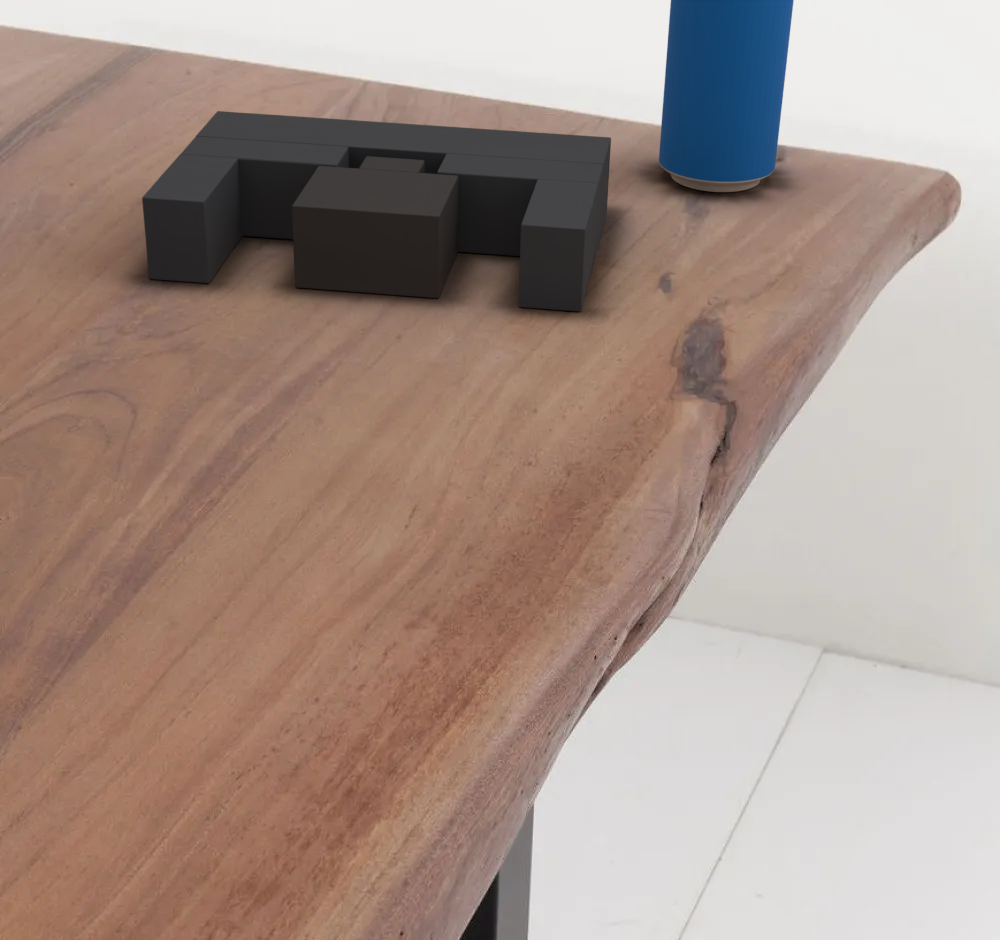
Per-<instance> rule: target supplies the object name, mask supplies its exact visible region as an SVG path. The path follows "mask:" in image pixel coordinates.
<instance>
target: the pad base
mask: <svg viewBox="0 0 1000 940" xmlns="http://www.w3.org/2000/svg"><path fill="white" fill-rule="evenodd" d="M611 147H612V137H609V136H594V135H579V134H566V133H565V134H564V133H552V132H550V133H549V132H537V131H521V130H520V131H519V130H506V129H505V130H504V129H489V128H477V127H475V128H474V127H473V128H472V127H461V126H445V125H432V124H431V125H430V124H415V123H401V122H388V121H387V122H386V121H385V122H384V121H373V120H371V121H369V120H356V119H355V120H354V119H344V118H343V119H342V118H341V119H340V118H327V117H326V118H325V117H324V118H323V117H312V116H311V117H310V116H296V115H282V114H268V113H267V114H265V113H254V112H253V113H252V112H240V111H239V112H237V111H225V110H224V111H223V110H222V111H221V110H217V111H216V112H215V113H214V115H213V116H211V118H210V119H209V120H208V121H207V123H206V124H205V125H204V126H203V127H202V128H201V129H200V131H199V132H198V133H197V134H196V135H195V137H194V138H193V139H192V140H191V142H189V144H188V145H187V146H186V147H185V148H184V149H183V151H182V152H181V153H180V154H179V155H178V156H177V157H176V158H175V159H174V160H173V161H172V163H171V164H170V165H169V166H168V167H167V168H166V170H164V172H163V173H162V174H161V175H160V177H158V179H157V180H156V181H155V182H154V183H153V185H152V186H151V187H150V188H149V189H148V191H146V193H145V194H144V195H143V196H142V197H141V202H142V212H143V225H144V236H145V248H146V249H145V250H146V259H147V271H148V279H149V280H159V281H172V282H173V281H174V282H185V283H186V282H187V283H197V284H198V283H199V284H210V283H211V281H212V280H213V279H214V277H215V276H216V274H217V273H218V272H219V270H220V268H221V267H222V265H223V264H224V263H225V262H226V260H227V259H228V257H229V256H230V254H231V253H232V251H233V250H234V249H235V247H236V246H237V244H238V243H239V241H240V240H241V239H242V238H243V237H250V238H251V237H252V238H253V237H254V238H267V239H268V238H269V239H278V240H279V239H280V240H292V241H293V220H292V205H293V204H294V202H295V201H296V199H297V198H298V196H299V195H300V193H301V192H302V190H303V189H304V187H305V186H306V184H307V183H308V181H309V180H310V178H311V177H312V175H313V174H314V172H315V171H316V169H317V168H318V166H329V167H343V168H357V169H359V168H360V166H361V164H362V163H363V161H364V160H365V158H366V157H367V156H371V157H385V158H399V159H414V160H424V161H425V173H428V174H442V175H456V176H458V238H457V253H467V254H481V255H482V254H483V255H494V256H495V255H496V256H511V257H519V269H518V270H519V271H518V273H519V274H518V301H517V303H518V308H526V309H527V308H528V309H541V310H554V311H569V312H582V309H583V305H584V302H585V298H586V294H587V290H588V286H589V282H590V278H591V275H592V271H593V266H594V263H595V260H596V255H597V251H598V247H599V243H600V240H601V236H602V232H603V228H604V224H605V221H606V217H607V212H608V200H609V199H608V198H609V184H610V183H609V182H610V180H609V179H610V164H611Z"/></svg>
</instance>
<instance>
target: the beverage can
mask: <svg viewBox="0 0 1000 940" xmlns="http://www.w3.org/2000/svg"><path fill="white" fill-rule="evenodd" d="M794 2H795V1H794V0H670V4H669V6H670V8H669V17H668V19H669V20H668V33H667V45H666V58H665V59H666V60H665V70H664V71H665V72H664V83H663V84H664V86H663V88H664V89H663V100H662V111H661V124H660V125H661V127H660V136H659V137H660V140H659V151H658V152H659V153H658V164H659V165H660V167H661V168H662V169H663V170H665V172H667V173H669V174H670V177H671V179H672V180H673V181H674V182H676V184H679V185H681V186H683V187H686V188H689V189H693V190H697V191H703V192H712V193H734V192H735V193H736V192H741V191H747V190H750V189H753V188H755V187H756V186H758V185H759V184H760V182H761V180H763V179H765V178H767V177H769V176H771V174H773V173H774V171H775V169H776V161H777V154H778V143H779V136H780V135H779V134H780V126H781V116H782V108H783V107H782V106H783V98H784V90H785V81H786V73H787V72H786V71H787V63H788V54H789V45H790V35H791V26H792V18H793V9H794Z"/></svg>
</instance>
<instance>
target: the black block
mask: <svg viewBox="0 0 1000 940" xmlns="http://www.w3.org/2000/svg"><path fill="white" fill-rule="evenodd" d="M292 220H293V240H292V241H293V243H292V245H293V269H294V287H295V288H298V289H299V288H301V289H311V290H326V291H337V292H351V293H364V294H365V293H366V294H376V295H377V294H378V295H389V296H403V297H418V298H431V299H439V297H440V295H441V294H442V291H443V289H444V286H445V283H446V281H447V279H448V277H449V274H450V273H451V270H452V268H453V265H454V262H455V260H456V258H457V255H458V252H457V238H458V176H456V175H442V174H428V173H425V161H424V160H414V159H399V158H385V157H371V156H367V157H366V158H365V160H364V161H363V163H362V164H361V166H360V168H359V169H357V168H343V167H329V166H318V168H317V169H316V171H315V172H314V174H313V175H312V177H311V178H310V180H309V181H308V183H307V184H306V186H305V187H304V189H303V190H302V192H301V193H300V195H299V196H298V198H297V199H296V201H295V202H294V204H293V205H292Z"/></svg>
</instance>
